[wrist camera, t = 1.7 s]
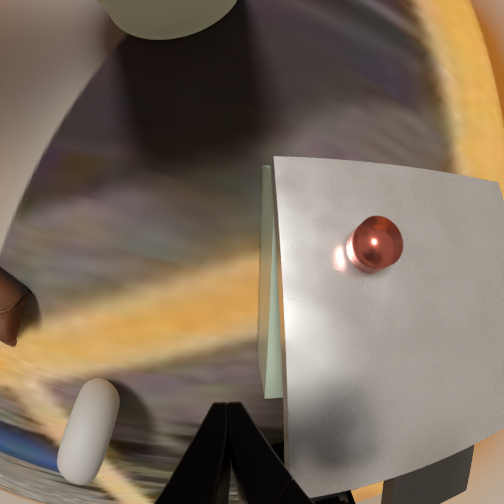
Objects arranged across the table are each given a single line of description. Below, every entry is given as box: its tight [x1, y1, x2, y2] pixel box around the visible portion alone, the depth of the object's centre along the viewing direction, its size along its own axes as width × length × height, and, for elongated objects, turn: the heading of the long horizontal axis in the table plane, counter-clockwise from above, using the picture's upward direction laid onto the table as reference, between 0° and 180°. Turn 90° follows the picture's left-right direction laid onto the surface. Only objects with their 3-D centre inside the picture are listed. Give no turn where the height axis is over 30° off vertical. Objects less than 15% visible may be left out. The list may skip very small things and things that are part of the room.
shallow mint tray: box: [257, 165, 283, 399], centre depth 19 cm, size 14×14×5 cm
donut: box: [57, 378, 120, 485], centre depth 19 cm, size 10×4×10 cm, turn 148°
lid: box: [270, 156, 504, 504], centre depth 11 cm, size 17×14×2 cm
